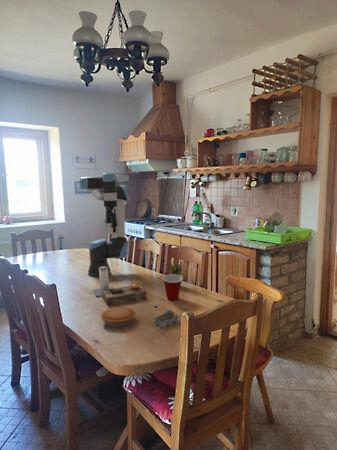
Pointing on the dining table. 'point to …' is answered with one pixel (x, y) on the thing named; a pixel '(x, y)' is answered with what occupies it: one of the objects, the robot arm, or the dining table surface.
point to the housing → (123, 295)
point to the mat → (98, 293)
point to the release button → (135, 286)
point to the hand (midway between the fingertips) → (112, 235)
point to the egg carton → (163, 318)
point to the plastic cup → (172, 286)
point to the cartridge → (104, 278)
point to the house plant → (176, 269)
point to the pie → (118, 316)
